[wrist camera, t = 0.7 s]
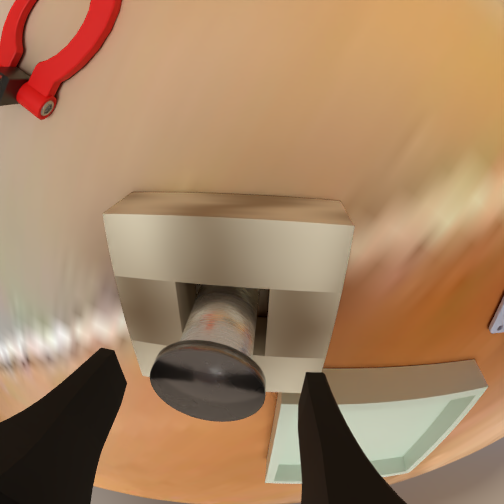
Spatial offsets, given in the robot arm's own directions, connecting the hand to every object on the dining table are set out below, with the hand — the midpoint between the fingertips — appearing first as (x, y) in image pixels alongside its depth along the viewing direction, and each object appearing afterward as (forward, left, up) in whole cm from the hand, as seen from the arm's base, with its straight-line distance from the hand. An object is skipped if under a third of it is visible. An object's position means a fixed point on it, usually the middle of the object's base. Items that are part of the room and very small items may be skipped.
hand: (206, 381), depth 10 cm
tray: (-11, +14, -7) cm, 19 cm away
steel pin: (0, 0, -7) cm, 7 cm away
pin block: (0, 0, -7) cm, 7 cm away
